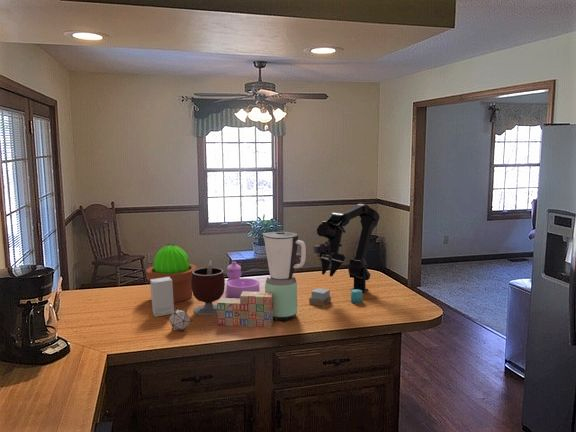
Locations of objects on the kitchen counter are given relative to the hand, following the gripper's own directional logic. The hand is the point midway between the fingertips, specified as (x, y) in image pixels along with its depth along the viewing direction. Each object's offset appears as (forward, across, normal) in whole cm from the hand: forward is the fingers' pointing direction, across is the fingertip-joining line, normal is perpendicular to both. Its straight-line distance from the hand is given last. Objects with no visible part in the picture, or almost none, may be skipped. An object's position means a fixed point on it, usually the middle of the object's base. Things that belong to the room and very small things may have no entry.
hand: (326, 275), depth 216 cm
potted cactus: (+26, -32, -59) cm, 72 cm away
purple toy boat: (+17, -29, -30) cm, 45 cm away
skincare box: (+31, -11, -64) cm, 72 cm away
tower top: (+10, -3, +1) cm, 11 cm away
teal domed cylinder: (+9, 0, +17) cm, 19 cm away
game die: (+32, +10, -58) cm, 67 cm away
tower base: (+13, -4, +1) cm, 14 cm away
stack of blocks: (+26, +10, -34) cm, 44 cm away
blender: (+20, +8, -18) cm, 29 cm away
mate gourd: (+25, -9, -46) cm, 53 cm away
